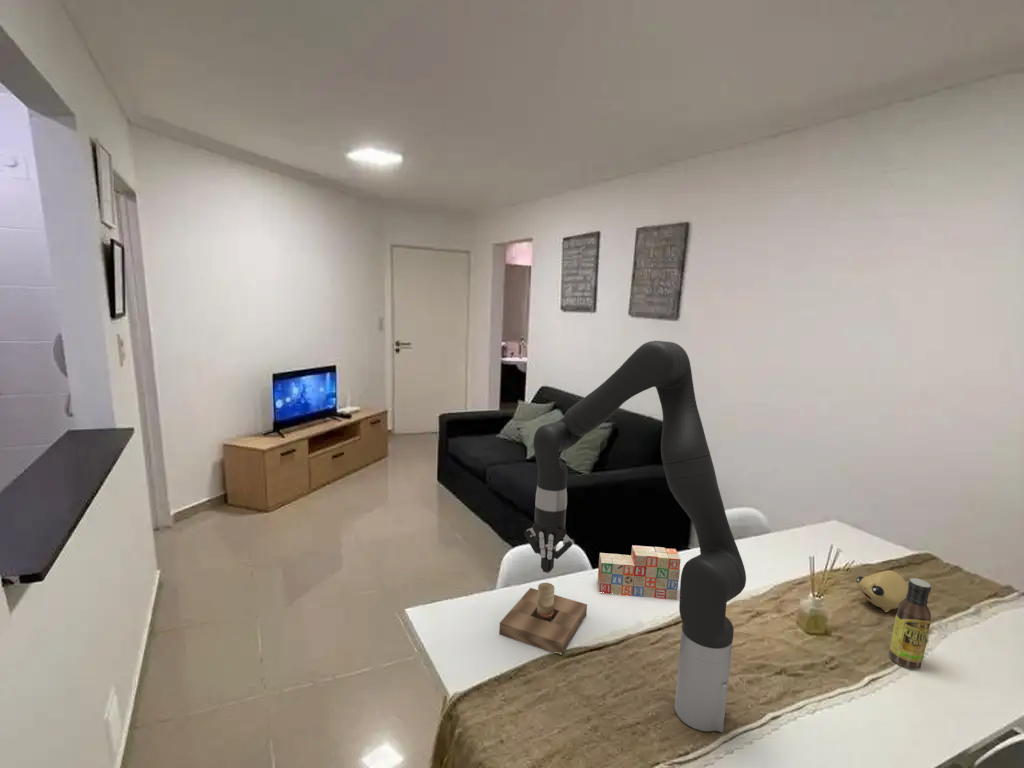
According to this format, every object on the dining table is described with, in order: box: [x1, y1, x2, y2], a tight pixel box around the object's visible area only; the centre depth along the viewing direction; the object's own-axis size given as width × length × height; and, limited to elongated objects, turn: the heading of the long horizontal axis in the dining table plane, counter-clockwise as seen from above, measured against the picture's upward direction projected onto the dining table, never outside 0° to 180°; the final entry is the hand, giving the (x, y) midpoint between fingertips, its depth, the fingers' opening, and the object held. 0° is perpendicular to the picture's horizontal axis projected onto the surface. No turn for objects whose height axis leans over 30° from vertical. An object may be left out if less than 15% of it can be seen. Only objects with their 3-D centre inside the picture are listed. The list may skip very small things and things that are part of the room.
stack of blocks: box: [597, 544, 682, 601], centre depth 146 cm, size 21×6×12 cm, turn 85°
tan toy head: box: [855, 570, 909, 612], centre depth 143 cm, size 10×12×11 cm
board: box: [498, 587, 588, 653], centre depth 129 cm, size 16×18×3 cm
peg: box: [537, 582, 555, 622], centre depth 129 cm, size 4×4×10 cm
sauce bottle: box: [888, 577, 932, 670], centre depth 119 cm, size 6×6×20 cm
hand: (547, 570), depth 128 cm, fingers closed
